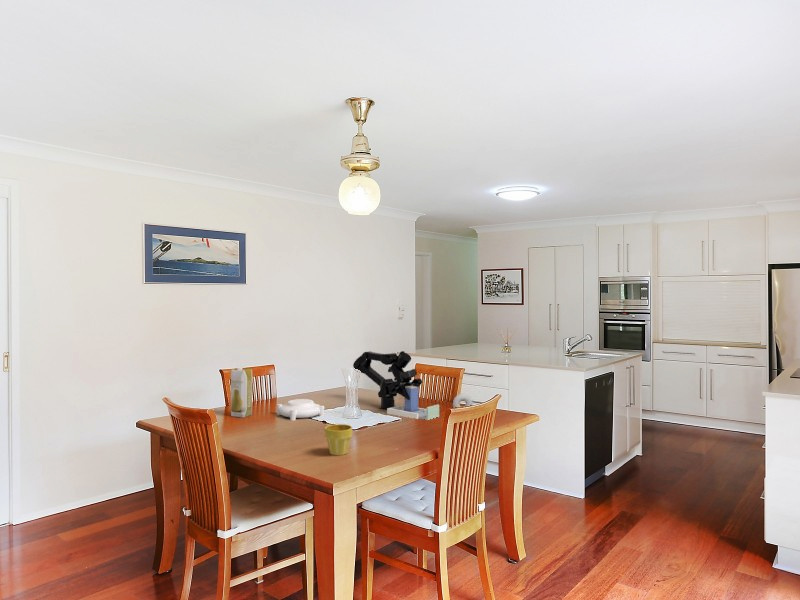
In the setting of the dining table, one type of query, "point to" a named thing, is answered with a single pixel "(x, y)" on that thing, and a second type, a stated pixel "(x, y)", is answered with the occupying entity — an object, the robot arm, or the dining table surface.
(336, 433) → the plant pot
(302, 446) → the dining table surface
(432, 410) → the tray
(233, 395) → the juice carton
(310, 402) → the round stand with pegs
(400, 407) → the beige low rectangular frame
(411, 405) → the blue beige tall block
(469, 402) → the donut
